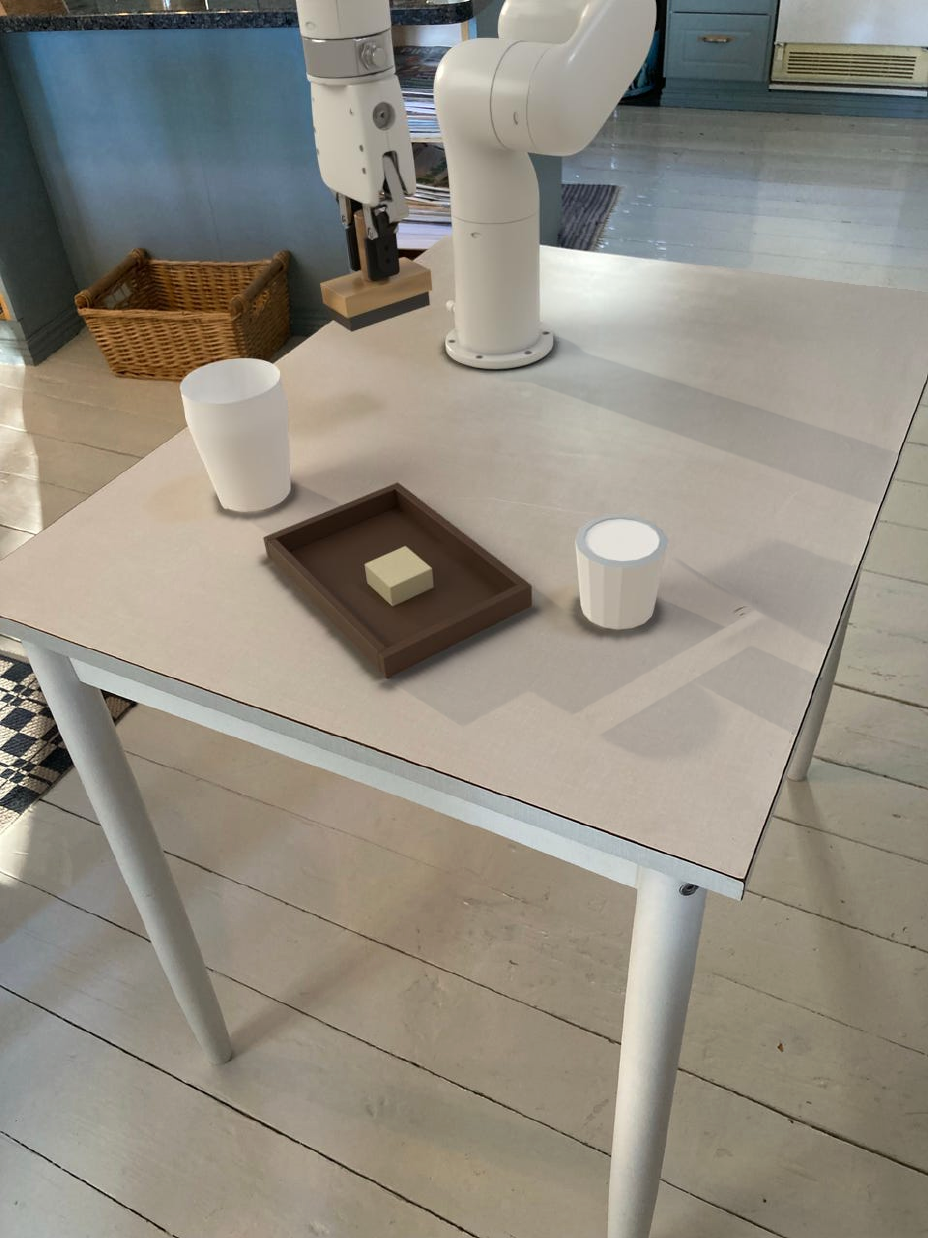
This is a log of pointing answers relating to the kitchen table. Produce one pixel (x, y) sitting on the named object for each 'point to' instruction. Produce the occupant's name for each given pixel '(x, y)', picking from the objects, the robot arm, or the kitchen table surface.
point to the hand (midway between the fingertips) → (375, 270)
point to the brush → (375, 290)
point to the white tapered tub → (619, 569)
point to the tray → (385, 635)
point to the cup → (241, 430)
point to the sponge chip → (399, 575)
